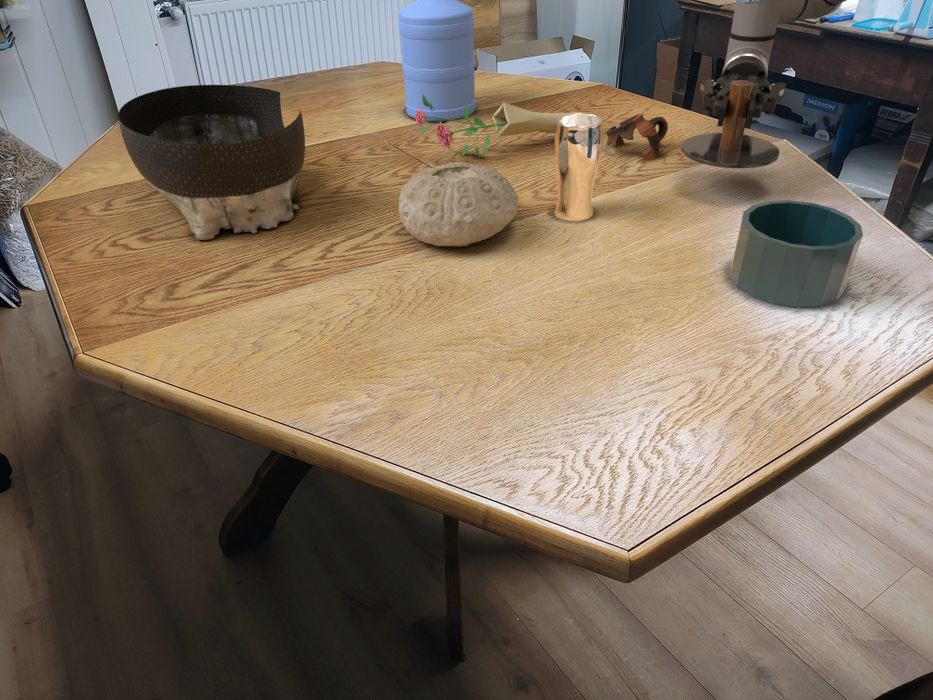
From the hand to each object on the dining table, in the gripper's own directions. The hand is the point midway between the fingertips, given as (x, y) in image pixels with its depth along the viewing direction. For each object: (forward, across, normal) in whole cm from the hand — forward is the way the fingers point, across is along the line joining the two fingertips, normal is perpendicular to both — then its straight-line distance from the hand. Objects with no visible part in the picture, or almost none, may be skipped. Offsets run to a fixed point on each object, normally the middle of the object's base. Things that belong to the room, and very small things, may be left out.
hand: (735, 118), depth 101 cm
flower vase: (-14, +40, -14) cm, 44 cm away
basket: (+21, +78, -14) cm, 82 cm away
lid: (-5, 0, -7) cm, 9 cm away
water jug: (-34, +62, -14) cm, 72 cm away
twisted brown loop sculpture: (-20, +16, -14) cm, 29 cm away
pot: (+22, -10, -14) cm, 28 cm away
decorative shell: (+21, +36, -14) cm, 44 cm away
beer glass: (+10, +21, -14) cm, 27 cm away
